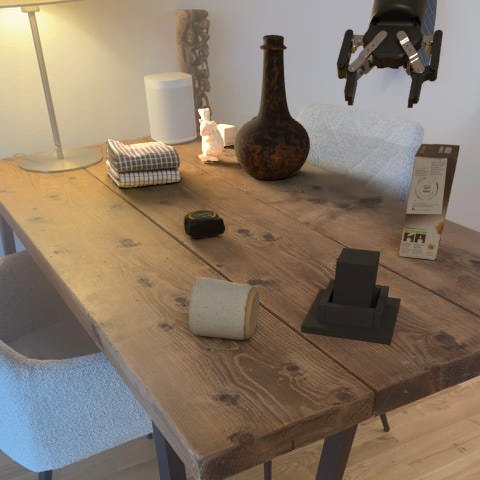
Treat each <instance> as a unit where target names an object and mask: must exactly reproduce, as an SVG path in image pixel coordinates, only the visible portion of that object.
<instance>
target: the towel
mask: <svg viewBox="0 0 480 480" xmlns="http://www.w3.org/2000/svg"><path fill="white" fill-rule="evenodd" d="M105 145H106V150H107V151H106V154H107V160H106V161H105V165H106V166H105V171H106V174H107V173H108V174H109V175H108V174H107V175H108V176H109V177H110V178H111V180H112V182H113V183H114V184H115V185H116V184H117V185H116V186H117V187H118V188H125V189H126V188H137V187H138V186H139V187H140V188H141V187H146V186H155V185H157V184H159V185H165V184H166V183H169V184H171V183H172V184H173V182H174V183H178V182H181V180H182V179H181V171H180V169H179V168H180V166H181V160H180V157H179V156H180V155H179V153H178V152H177V150H176V148H175V147H174V146H172V145H168V144H166V143H165V142H164V141H149V142H148V141H147V142H141V143H139V142H137V143H132V144H127V143H124V142H121V141H119V140H116V139H112V138H108V139H107V140H106V141H105Z"/></svg>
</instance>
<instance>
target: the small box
mask: <svg viewBox="0 0 480 480" xmlns="http://www.w3.org/2000/svg"><path fill="white" fill-rule="evenodd" d="M217 129H218V130H219V131H220V134H221V136H222V138H223V140H224V146H227V145H230V144H234V143H235V138H236V135H237V133H238V126H237V125H232V124H226V123H219V124H217Z"/></svg>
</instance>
